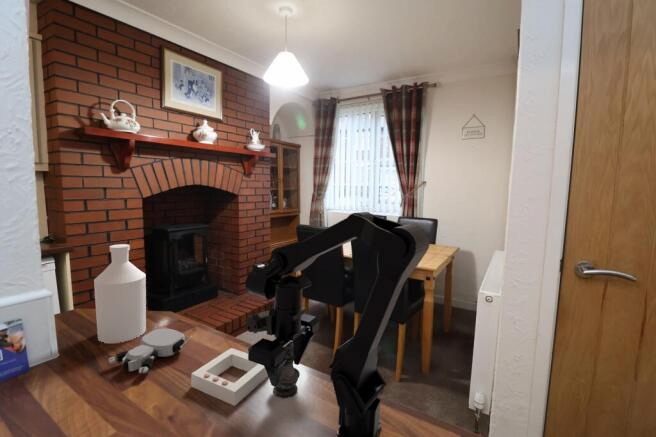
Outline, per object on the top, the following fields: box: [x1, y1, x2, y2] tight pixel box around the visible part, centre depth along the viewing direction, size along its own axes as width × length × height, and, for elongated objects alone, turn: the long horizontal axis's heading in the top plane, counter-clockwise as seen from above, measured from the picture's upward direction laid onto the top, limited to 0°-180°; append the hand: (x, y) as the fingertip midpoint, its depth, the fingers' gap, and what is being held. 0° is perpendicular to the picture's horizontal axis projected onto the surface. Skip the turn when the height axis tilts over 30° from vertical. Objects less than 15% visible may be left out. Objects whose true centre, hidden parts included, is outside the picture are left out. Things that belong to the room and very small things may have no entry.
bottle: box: [93, 243, 147, 344], centre depth 87 cm, size 12×12×25 cm
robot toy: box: [107, 326, 193, 374], centre depth 77 cm, size 12×4×15 cm
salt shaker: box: [272, 341, 301, 399], centre depth 67 cm, size 6×6×12 cm
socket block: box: [190, 347, 269, 407], centre depth 70 cm, size 12×12×3 cm
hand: (285, 374), depth 67 cm, fingers closed on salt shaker, 8 cm apart
